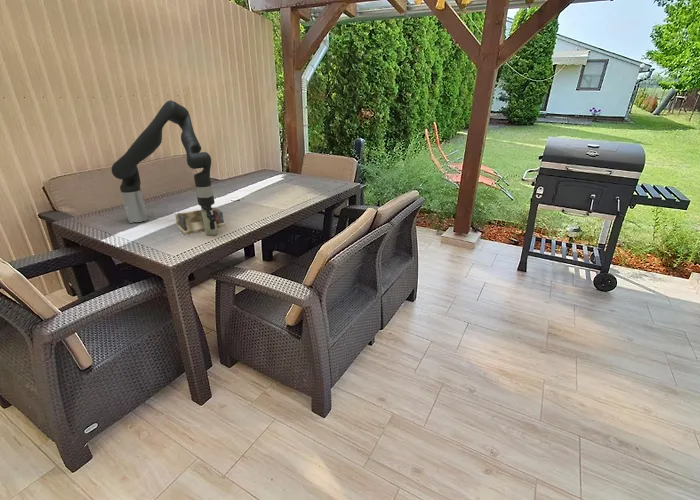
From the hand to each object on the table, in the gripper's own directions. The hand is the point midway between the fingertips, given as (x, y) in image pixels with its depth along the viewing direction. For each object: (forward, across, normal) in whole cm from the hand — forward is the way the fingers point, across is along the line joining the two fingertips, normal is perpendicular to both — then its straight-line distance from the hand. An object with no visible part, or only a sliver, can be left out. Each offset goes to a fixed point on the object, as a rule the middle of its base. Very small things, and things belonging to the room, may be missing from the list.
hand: (210, 227), depth 175 cm
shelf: (+4, -13, -1) cm, 14 cm away
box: (+4, 0, 0) cm, 4 cm away
